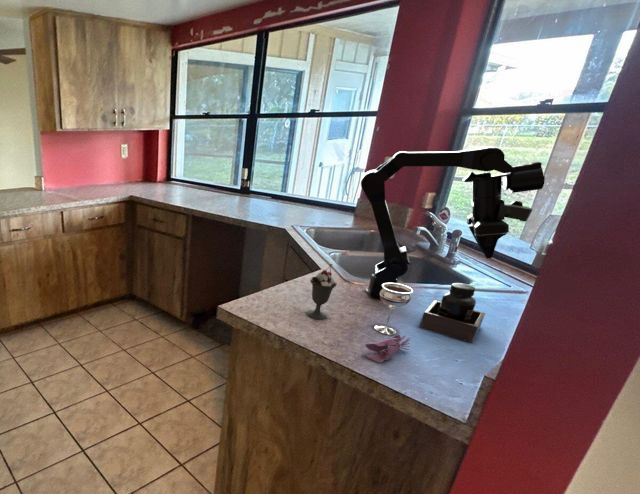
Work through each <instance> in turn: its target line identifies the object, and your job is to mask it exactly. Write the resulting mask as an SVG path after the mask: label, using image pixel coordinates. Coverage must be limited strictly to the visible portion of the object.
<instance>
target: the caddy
mask: <svg viewBox="0 0 640 494" xmlns="http://www.w3.org/2000/svg"><path fill="white" fill-rule="evenodd" d="M440 304H441V301H440V300H435V299H434V300H433V301H432V302H431V303H430V305H429V306H428V307H426V309H425V311H424V312H423V314H422V318H421V320H420V323H419V328H420V329H423V330H427V331H431V332H434V333H436V334H441V335H443V336H447V337H450V338H454V339H457V340H459V341H462V342H463V341H464V342H467V343H469V344H472V343H473V341H474V339H475V337H476V336H477V334H478V332H479V330H480V328H481V325H482V323H483V321H484V319H485V315H486V312H482V311H479V310H475V309H474V310H473V313H472V316H471V319H470V321H469V323H465V322H462V321H458V320H454V319H451V318H447V317H443V316H440V315H437V313H438V310H439V307H440Z"/></svg>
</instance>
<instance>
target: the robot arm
mask: <svg viewBox="0 0 640 494" xmlns="http://www.w3.org/2000/svg"><path fill="white" fill-rule="evenodd" d="M505 157H506V155H505V153H504V151H503V150H502V149H501V148H498V147H494V146H490V145H487V146H479V147H472V148H467V149H462V150H455V151H451V150H450V151H405V150H401V151H398V152H396V153H395V154H394V155H393V156H392V157H390V158H389V159H388V160H386V161H385V162H384V163H382V164H380V165H379V166H378V167H377V168H375V169H370V170H367V171H366V172H365V173H364V174H363V175H362V177H361V181H360V187H361V189H362V191H363V193H364V195H365V197H366V198H367V200H368V201H369V203H370V205H371V208H372V212H373V215H374V219H375V222H376V226H377V230H378V233H379V237H380V241H381V244H382V247H383V248H382V250H383V260H382V261H380V262H379V263H377V264H375V265H374V273H372V274H371V276H370V280H369V283H368V288H366V289H365V292H366V293H367V294H368V296H369V297H370V298H371V299H378V300H381V299H380V291H381V290H382V289H383V286H382V285H383V284H385V283H396V284H398V278H400V277H402V276H404V275H405V274H406V273H407V272H408V270H409V265H411V262H410V258H409V256H408V252H407V251H408V250H407V247H406V245H404V246H401V247H400V245H399V243H398V241H397V237H396V234H395V230H394V227H393V226H394V225H393V223H392V220H391V219H392V218H391V215H390V212H389V209H388V204H387V201H386V185H385V184H386V183H385V182H386V181H388V180H389V179H391V178H392V177H393V176H394V175H395V174H397V173H398V172H399V171H400V170H402V169H403V168H405V167H457V168H462V169H469V170H473V171H468V174H467V175H465V177H464V178H462V182H465V183H471V200H470V205H471V210H472V211H471V213H470V214H469V215H467V218H466V223H467V225H468V228H469V230H470V232H471V234H472V236H473V238H474V240H475V242H476V244H477V246H478V247H479V250H480V251H482V253H483V255H484V257H485V258H486V259H493V256H494V253H495V250H496V246H497V244H498V241H499V239H501V238H502V237H504V236H506V235H507V234H508V233H509V231H510V229H509V228H510V224H509V223H507V222H506V221H504V220H505V219H506V218H507V219H511V220H516V221H517V220H519V221H520V222H525V223H526V222H528V220H529V218H530V215H531V213H532V211H533V208H532V207H528V206H526V205H525V206H524V204H523V202H522V201H520V200H512V201H511V202H510V203H505V200H504V199H503V198H502V187H503V190H504V191H507V190H508V193H510V194H516V193H524V192H531V191H532V192H533V191H539V190H542V189H544V186H545V178H546V176H545V175H544V170H543V168H542V162H540V161H533V162H530V163H527V164H520V165H513V166H512V164H511V163H509V162H507V160H505ZM474 171H481V172H479V173H475V172H474ZM492 171H496V172H498V173H497V174H492V173H491V172H492Z"/></svg>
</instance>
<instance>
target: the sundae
mask: <svg viewBox="0 0 640 494" xmlns="http://www.w3.org/2000/svg"><path fill="white" fill-rule="evenodd" d="M332 266H333V264H332V263H330V264H329V266H328V268H329V271H327V270H328V268H326V269H323V270H322V271H320V272H319V273H317V274H316V276H312V277H311V279H310V280H309V281H310V284H311V285H312V286H311V287H312V288H311V298H312V302H313V303H315V304H316V306H315V309H314V310H309V311H308V312H307V313H306V314H307V316H308V317H310V318H311V319H315V320H325V319H326V318H327V315H326V314H325V313H324V312H321V307H322V305H325V304H326V303H328V301H329V299H330V297H331V294H332V292H333V289H334V288H336V287H337V285H338V283H337V282H335V279H334V278H333V276H332V275H333V273H332V272H331V271H332Z"/></svg>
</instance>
